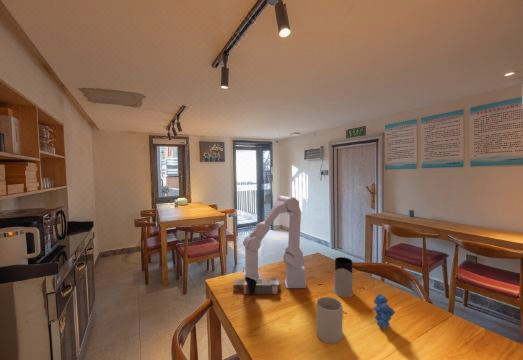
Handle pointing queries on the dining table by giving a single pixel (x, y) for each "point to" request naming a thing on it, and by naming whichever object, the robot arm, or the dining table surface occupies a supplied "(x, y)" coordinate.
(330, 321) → the mug
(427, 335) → the dining table surface
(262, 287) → the stool leg
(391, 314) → the grapes
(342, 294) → the glass holder
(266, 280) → the rail
